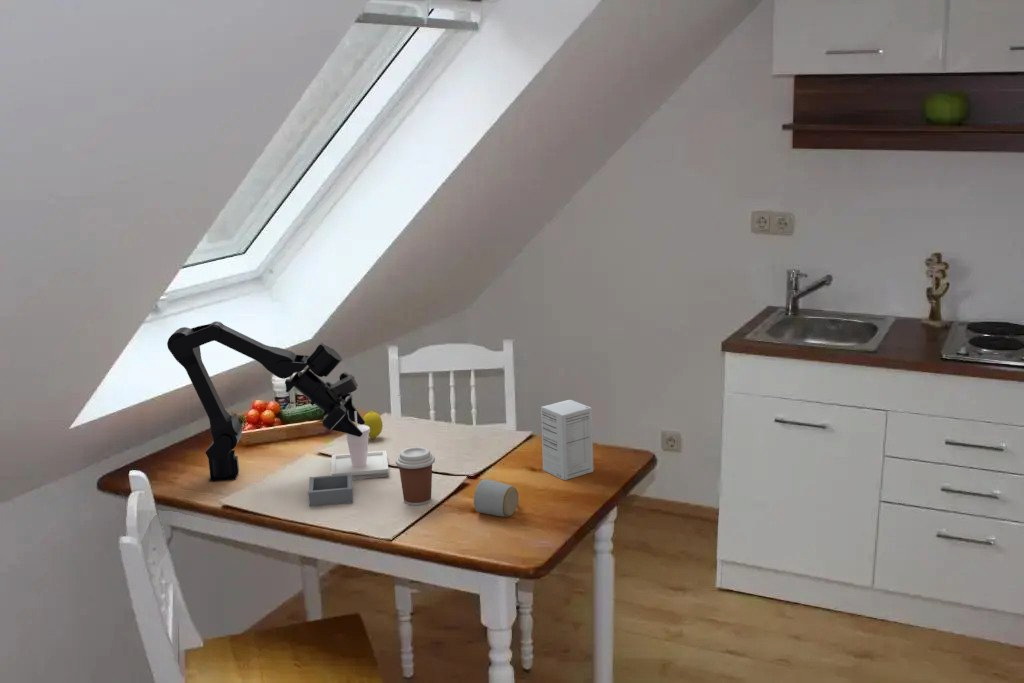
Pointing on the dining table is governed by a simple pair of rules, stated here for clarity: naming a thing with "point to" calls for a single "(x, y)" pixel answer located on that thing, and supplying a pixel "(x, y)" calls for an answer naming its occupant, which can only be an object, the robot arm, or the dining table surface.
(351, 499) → the holder
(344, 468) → the tray
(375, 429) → the lemon
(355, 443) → the smoothie
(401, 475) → the coffee cup
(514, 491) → the grey cylinder
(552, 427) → the supplement box
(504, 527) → the dining table surface
